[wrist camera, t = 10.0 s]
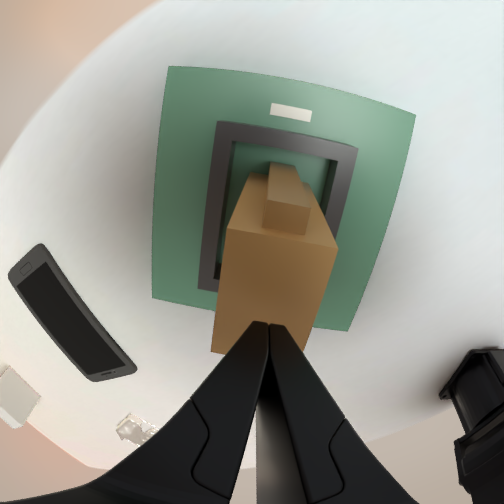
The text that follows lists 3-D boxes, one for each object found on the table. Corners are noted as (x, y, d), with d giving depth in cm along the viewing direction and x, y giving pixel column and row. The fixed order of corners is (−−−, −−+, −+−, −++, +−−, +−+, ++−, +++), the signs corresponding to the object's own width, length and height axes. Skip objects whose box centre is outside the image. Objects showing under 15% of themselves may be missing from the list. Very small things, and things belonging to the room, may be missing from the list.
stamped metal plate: (132, 409, 28) (128, 419, 27) (185, 436, 30) (182, 446, 29) (112, 428, 31) (108, 436, 30) (157, 451, 33) (154, 460, 31)
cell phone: (44, 237, 20) (39, 241, 19) (142, 367, 24) (139, 373, 24) (9, 270, 21) (4, 274, 21) (94, 379, 26) (91, 384, 26)
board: (344, 320, 20) (352, 349, 17) (158, 288, 20) (142, 314, 17) (407, 114, 14) (431, 116, 11) (175, 69, 14) (155, 60, 11)
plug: (290, 260, 17) (297, 365, 10) (237, 250, 17) (210, 351, 10) (311, 168, 15) (346, 221, 8) (253, 156, 15) (231, 198, 8)
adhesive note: (41, 395, 30) (22, 426, 25) (30, 401, 32) (13, 429, 26) (10, 364, 28) (-12, 394, 23) (1, 374, 30) (-18, 400, 25)
